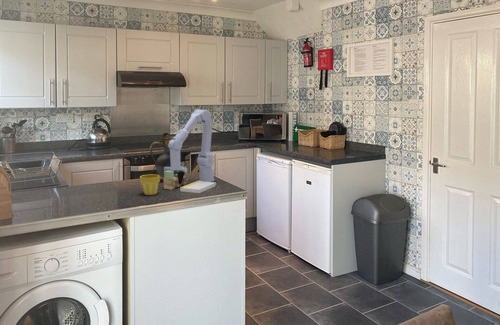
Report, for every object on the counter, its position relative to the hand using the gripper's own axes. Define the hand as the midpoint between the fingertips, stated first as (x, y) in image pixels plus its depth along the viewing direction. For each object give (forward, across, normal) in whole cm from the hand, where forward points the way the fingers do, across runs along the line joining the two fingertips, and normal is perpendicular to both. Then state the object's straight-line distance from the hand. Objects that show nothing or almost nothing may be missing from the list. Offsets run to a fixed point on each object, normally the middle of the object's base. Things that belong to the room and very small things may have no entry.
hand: (176, 183), depth 248 cm
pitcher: (+2, -14, +12) cm, 19 cm away
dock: (+2, +15, 0) cm, 15 cm away
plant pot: (+2, -3, -21) cm, 21 cm away
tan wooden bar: (+2, 0, 0) cm, 2 cm away
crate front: (-4, 0, -7) cm, 8 cm away
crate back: (-4, 0, +7) cm, 8 cm away
